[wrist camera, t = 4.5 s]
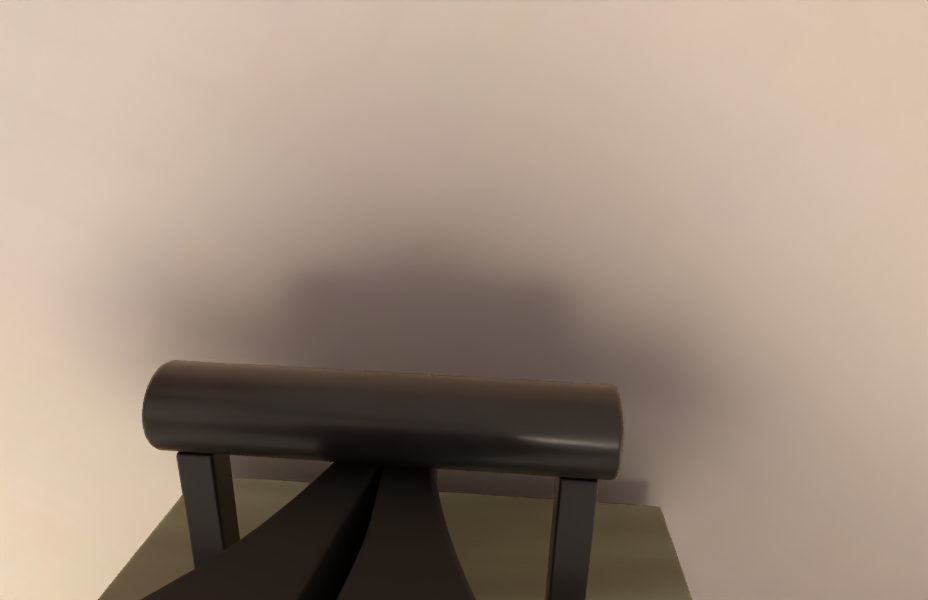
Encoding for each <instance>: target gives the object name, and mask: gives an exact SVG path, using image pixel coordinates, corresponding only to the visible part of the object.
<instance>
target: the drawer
mask: <svg viewBox="0 0 928 600" xmlns="http://www.w3.org/2000/svg"><path fill="white" fill-rule="evenodd" d="M142 423H143V429H144V433H145V436H146V438H147V440H148V442H149V443H150V444H151V445H152V446H153V447H155V448H157V449H159V450H166V451H179V452H178V453H177V462H178V469H179V475H180V481H181V488H182V494H183V495H182V496H181V497H180V499H179V500H178V501H177V502H176V504H175V505H174V506H173V507H172V509H171V510H170V511H169V512H168V514H167V515H166V516H165V517H164V519H163V520H162V521H161V522H160V523H159V525H158V526H157V527H156V528H155V530H154V531H153V532H152V533H151V535H150V536H149V537H148V538H147V540H146V541H145V542H144V543H143V545H142V546H141V547H140V548H139V549H138V551H137V552H136V553H135V554H134V556H133V557H132V558H131V559H130V561H129V562H128V563H127V564H126V566H125V567H124V568H123V569H122V571H121V572H120V573H119V574H118V575H117V577H116V578H115V579H114V580H113V582H112V583H111V584H110V585H109V587H108V588H107V589H106V590H105V592H104V593H103V594H102V595H101V597H100V598H99V599H98V600H140V599H142V598H144V597H146V596H148V595H149V594H151V593H153V592H155V591H156V590H158V589H160V588H162V587H164V586H165V585H167V584H169V583H171V582H172V581H174V580H176V579H178V578H179V577H181V576H183V575H185V574H186V573H188V572H190V571H192V570H194V569H195V568H197V567H199V566H200V565H202V564H204V563H205V562H207V561H209V560H210V559H212V558H213V557H215V556H216V555H218V554H219V553H221V552H222V551H224V550H225V549H227V548H228V547H230V546H231V545H233V544H235V543H236V542H238V541H239V540H240V539H242V538H243V537H245V536H246V535H247V534H249V533H250V532H252V531H253V530H254V529H256V528H257V527H259V526H260V525H261V524H262V523H264V522H265V521H266V520H267V519H269V518H270V517H271V516H272V515H274V514H275V513H276V512H277V511H279V510H280V509H281V508H282V507H284V506H285V505H286V504H287V503H289V502H290V501H291V500H292V499H294V498H295V497H296V496H297V495H298V494H299V493H300V492H302V491H303V490H304V489H305V488H306V487H307V486H308V485H309V484H311V483H310V482H295V481H281V480H266V479H252V478H237V477H232V471H231V463H230V455H241V456H256V457H271V458H286V459H301V460H316V461H331V462H346V463H361V464H376V465H391V466H406V467H421V468H436V469H451V470H466V471H481V472H496V473H511V474H526V475H541V476H556V477H555V489H554V499H541V498H527V497H512V496H498V495H483V494H469V493H454V492H440V491H438V492H439V497H440V501H441V505H442V510H443V514H444V517H445V521H446V524H447V528H448V531H449V534H450V537H451V540H452V543H453V546H454V549H455V552H456V554H457V557H458V560H459V562H460V565H461V567H462V569H463V572H464V574H465V576H466V579H467V581H468V583H469V586H470V588H471V590H472V592H473V594H474V596H475V598H476V600H692V598H691V595H690V592H689V589H688V586H687V583H686V580H685V577H684V574H683V571H682V569H681V566H680V563H679V560H678V557H677V554H676V551H675V548H674V545H673V542H672V539H671V537H670V534H669V531H668V528H667V525H666V522H665V519H664V516H663V513H662V510H661V508H660V507H657V506H642V505H628V504H614V503H599V502H597V497H598V488H599V481H598V479H601V480H612V479H614V478H616V476H617V474H618V471H619V469H620V465H621V459H622V452H623V434H624V427H623V410H622V403H621V398H620V395H619V392H618V389H617V388H616V387H615V386H613V385H605V384H587V383H569V382H551V381H534V380H516V379H498V378H481V377H463V376H445V375H427V374H410V373H392V372H374V371H357V370H339V369H321V368H303V367H286V366H268V365H250V364H232V363H215V362H197V361H179V360H173V361H170V362H167V363H165V364H163V365H162V366H161V367H160V368H158V370H157V371H156V372H155V374H154V375H153V377H152V378H151V380H150V382H149V385H148V387H147V390H146V393H145V397H144V402H143V409H142Z"/></svg>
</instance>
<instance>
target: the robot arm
mask: <svg viewBox="0 0 928 600" xmlns="http://www.w3.org/2000/svg"><path fill="white" fill-rule="evenodd" d="M140 600H476V598H475V596H474V594H473V592H472V590H471V588H470V586H469V583H468V581H467V579H466V576H465V574H464V572H463V569H462V567H461V565H460V562H459V560H458V557H457V554H456V552H455V549H454V546H453V543H452V540H451V537H450V534H449V531H448V528H447V524H446V521H445V517H444V514H443V510H442V505H441V501H440V497H439V492H438V487H437V469H436V468H421V467H406V466H391V465H376V464H361V463H346V462H334V463H333V464H331V465H330V466H329V467H328V468H327V469H326V470H325V471H324V472H323V473H322V474H321V475H320V476H318V477H317V478H316V479H315V480H314V481H313V482H312V483H311V484H309V485H308V486H307V487H306V488H305V489H304V490H303V491H302V492H300V493H299V494H298V495H297V496H296V497H295V498H294V499H292V500H291V501H290V502H289V503H287V504H286V505H285V506H284V507H282V508H281V509H280V510H279V511H277V512H276V513H275V514H274V515H272V516H271V517H270V518H269V519H267V520H266V521H265V522H264V523H262V524H261V525H260V526H259V527H257V528H256V529H254V530H253V531H252V532H250V533H249V534H247V535H246V536H245V537H243V538H242V539H240V540H239V541H238V542H236V543H235V544H233V545H231V546H230V547H228V548H227V549H225V550H224V551H222V552H221V553H219V554H218V555H216V556H215V557H213V558H212V559H210V560H209V561H207V562H205V563H204V564H202V565H200V566H199V567H197V568H195V569H194V570H192V571H190V572H188V573H186V574H185V575H183V576H181V577H179V578H178V579H176V580H174V581H172V582H171V583H169V584H167V585H165V586H164V587H162V588H160V589H158V590H156V591H155V592H153V593H151V594H149V595H148V596H146V597H144V598H142V599H140Z"/></svg>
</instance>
